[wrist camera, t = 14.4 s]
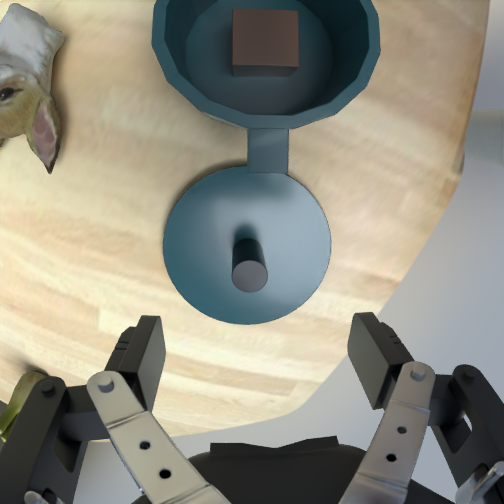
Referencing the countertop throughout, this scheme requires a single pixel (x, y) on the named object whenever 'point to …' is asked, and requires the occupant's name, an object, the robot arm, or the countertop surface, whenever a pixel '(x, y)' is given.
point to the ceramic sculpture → (29, 82)
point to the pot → (267, 88)
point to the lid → (246, 245)
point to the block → (265, 42)
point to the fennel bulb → (18, 401)
